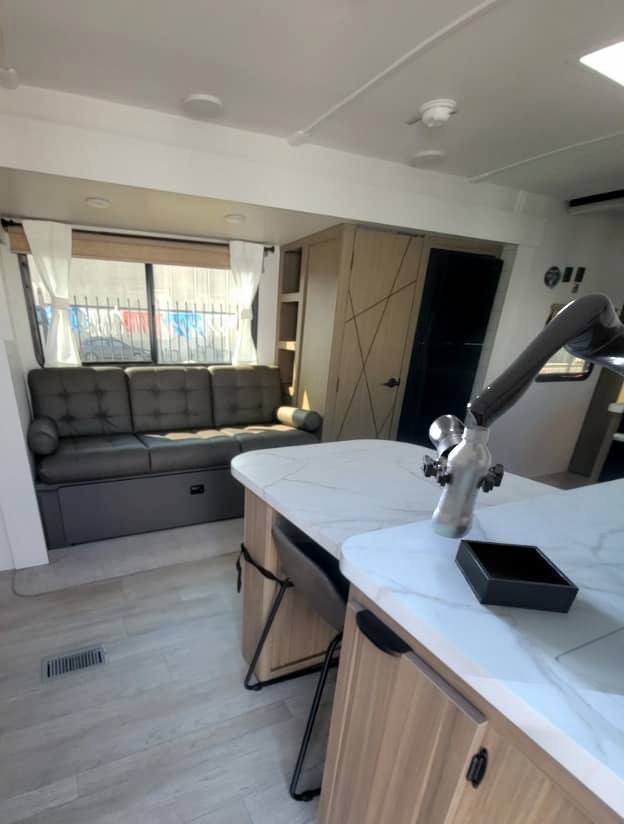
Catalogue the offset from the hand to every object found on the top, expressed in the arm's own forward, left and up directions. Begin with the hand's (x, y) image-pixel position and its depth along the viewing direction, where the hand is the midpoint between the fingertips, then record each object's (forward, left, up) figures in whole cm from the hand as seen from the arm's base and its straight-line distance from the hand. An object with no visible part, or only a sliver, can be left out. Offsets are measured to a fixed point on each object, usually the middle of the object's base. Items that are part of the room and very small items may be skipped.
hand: (465, 484), depth 69 cm
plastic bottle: (-1, -2, -11) cm, 11 cm away
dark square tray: (-8, +8, -14) cm, 18 cm away
